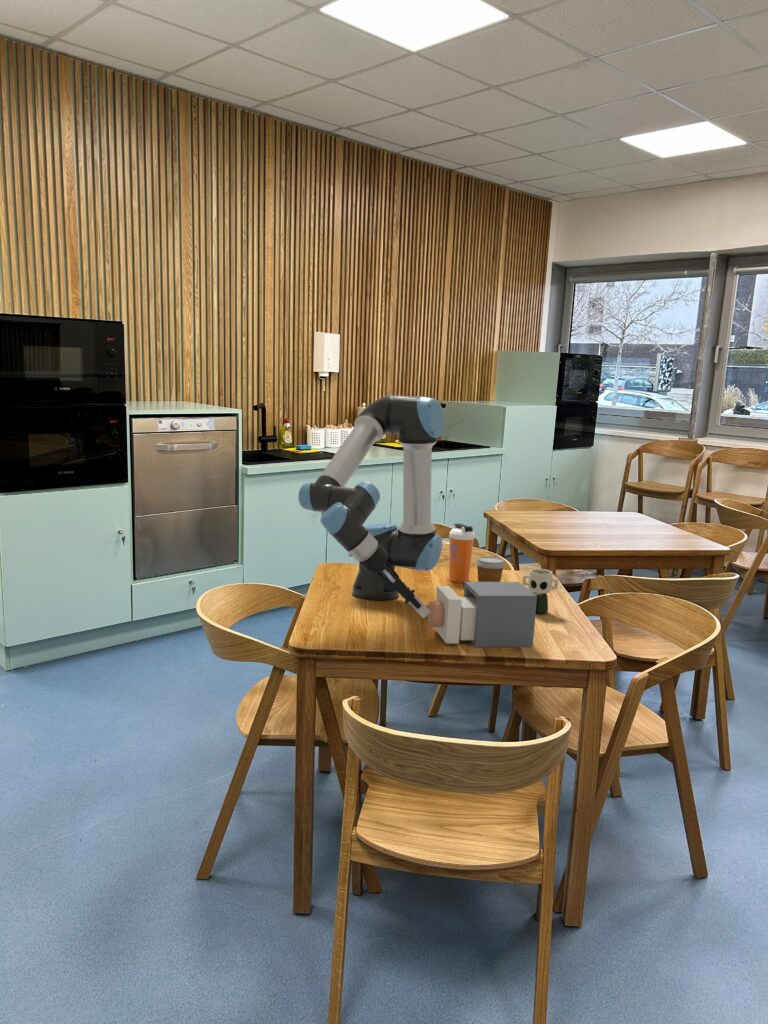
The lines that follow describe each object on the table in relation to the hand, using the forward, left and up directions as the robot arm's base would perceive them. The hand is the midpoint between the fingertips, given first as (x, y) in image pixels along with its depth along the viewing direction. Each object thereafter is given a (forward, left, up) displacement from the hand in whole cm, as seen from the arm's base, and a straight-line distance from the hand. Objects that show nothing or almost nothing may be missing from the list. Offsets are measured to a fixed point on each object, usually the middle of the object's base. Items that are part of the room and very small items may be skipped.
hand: (426, 614), depth 203 cm
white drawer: (+11, +4, -6) cm, 13 cm away
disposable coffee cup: (+15, +52, -7) cm, 55 cm away
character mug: (+31, +37, -7) cm, 49 cm away
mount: (+19, +7, -7) cm, 21 cm away
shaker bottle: (+4, +67, -7) cm, 68 cm away
